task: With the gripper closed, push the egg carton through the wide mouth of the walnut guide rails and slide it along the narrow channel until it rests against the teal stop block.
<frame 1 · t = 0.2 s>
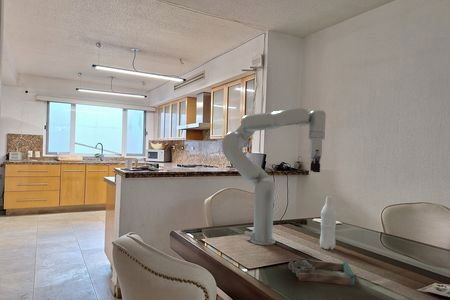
hand: (314, 171, 147), 36 cm above the table, tool pointing down, fingers open, 9 cm apart
egg carton: (301, 273, 115), on the table
water bottle: (327, 248, 146), on the table
guide: (320, 274, 114), on the table
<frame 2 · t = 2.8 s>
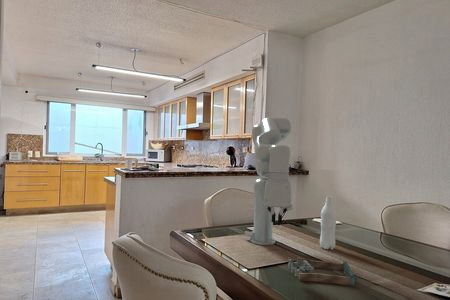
hand: (276, 224, 117), 17 cm above the table, tool pointing down, fingers closed
nothing on the table moved.
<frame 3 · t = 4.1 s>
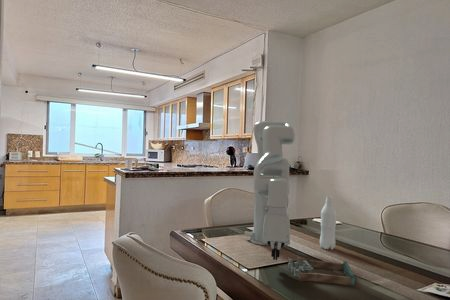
hand: (275, 258, 116), 4 cm above the table, tool pointing down, fingers closed
nothing on the table moved.
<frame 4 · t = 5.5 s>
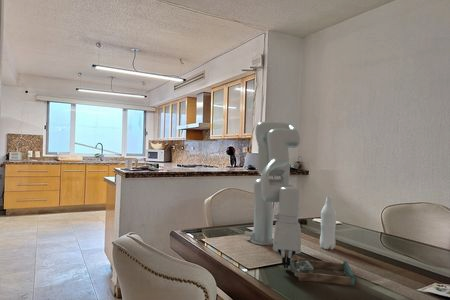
hand: (285, 266, 116), 1 cm above the table, tool pointing down, fingers closed
egg carton: (301, 273, 115), on the table, touching gripper
everything else where it was.
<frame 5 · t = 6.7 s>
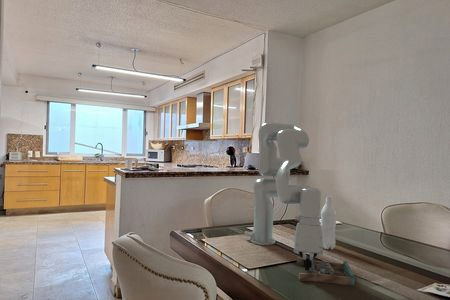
hand: (307, 269, 114), 1 cm above the table, tool pointing down, fingers closed
egg carton: (321, 275, 114), on the table, touching gripper
everything else where it was.
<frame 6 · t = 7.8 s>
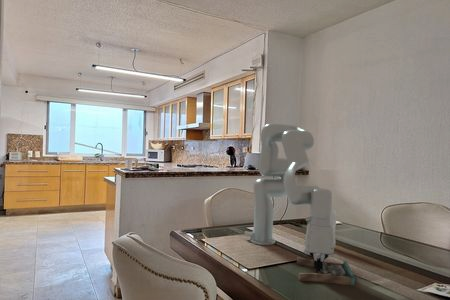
hand: (318, 270, 114), 1 cm above the table, tool pointing down, fingers closed
egg carton: (332, 277, 113), on the table, touching gripper
everything else where it was.
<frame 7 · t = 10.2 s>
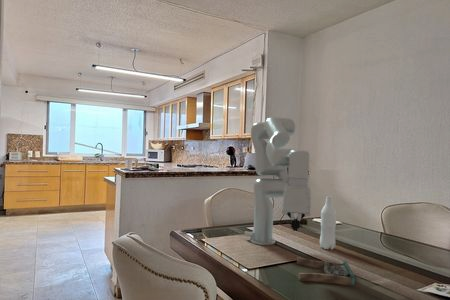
hand: (295, 230, 116), 15 cm above the table, tool pointing down, fingers closed
egg carton: (335, 277, 112), on the table
everything else where it was.
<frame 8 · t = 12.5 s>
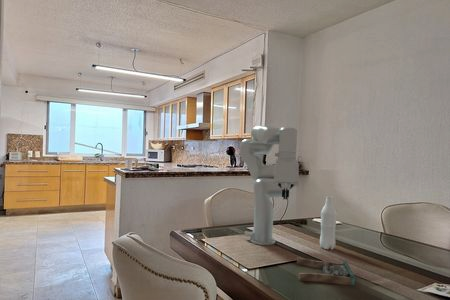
hand: (285, 198, 130), 25 cm above the table, tool pointing down, fingers closed
nothing on the table moved.
at the end: egg carton 0.4 cm from the target spot on the guide, point -0.5 cm above the guide's base; egg carton tilted 0°; egg carton moved 12.3 cm from its start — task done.
